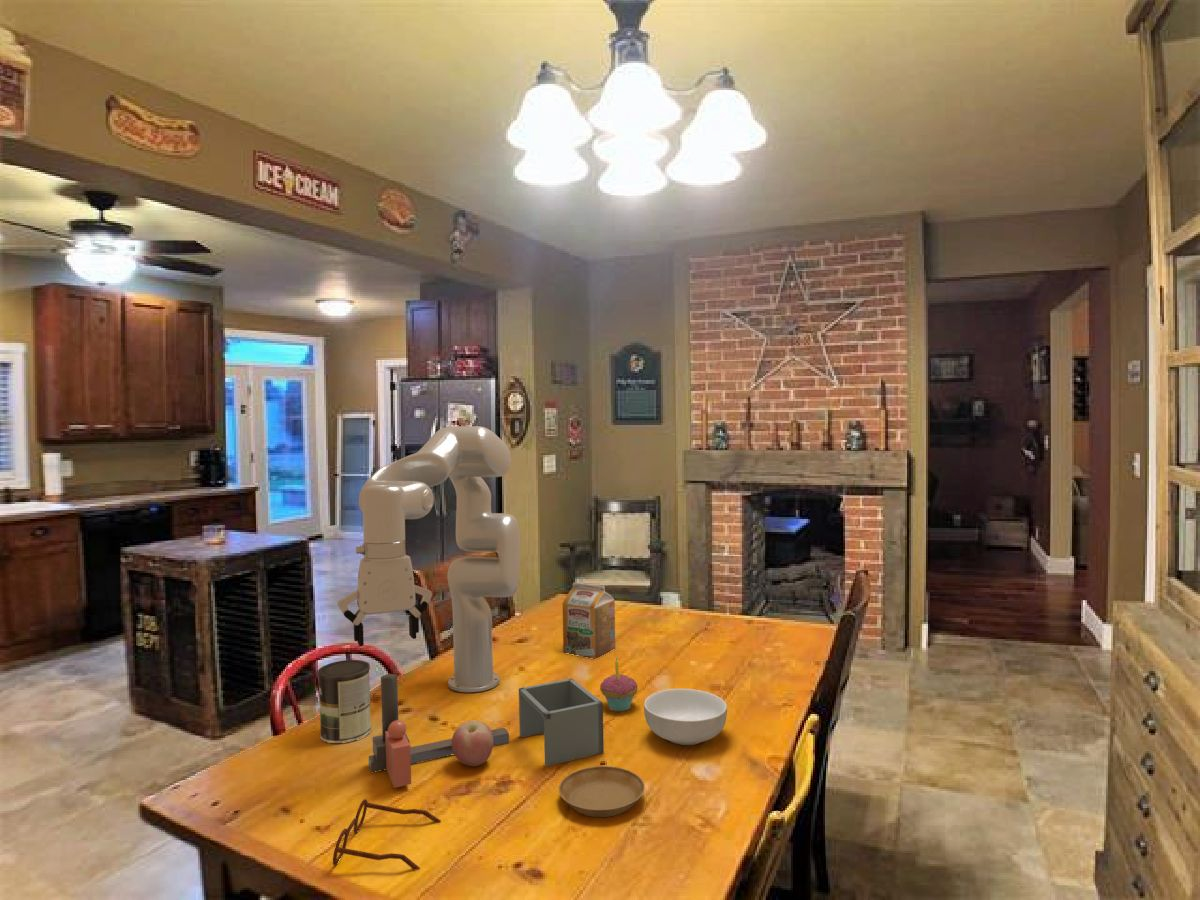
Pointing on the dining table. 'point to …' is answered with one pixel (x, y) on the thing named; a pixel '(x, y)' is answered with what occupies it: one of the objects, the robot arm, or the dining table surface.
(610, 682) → the cupcake
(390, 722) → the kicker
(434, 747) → the rail
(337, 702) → the coffee can
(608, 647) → the milk carton
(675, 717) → the cereal bowl
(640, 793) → the plant saucer
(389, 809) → the glasses
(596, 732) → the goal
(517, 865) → the dining table surface
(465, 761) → the apple
